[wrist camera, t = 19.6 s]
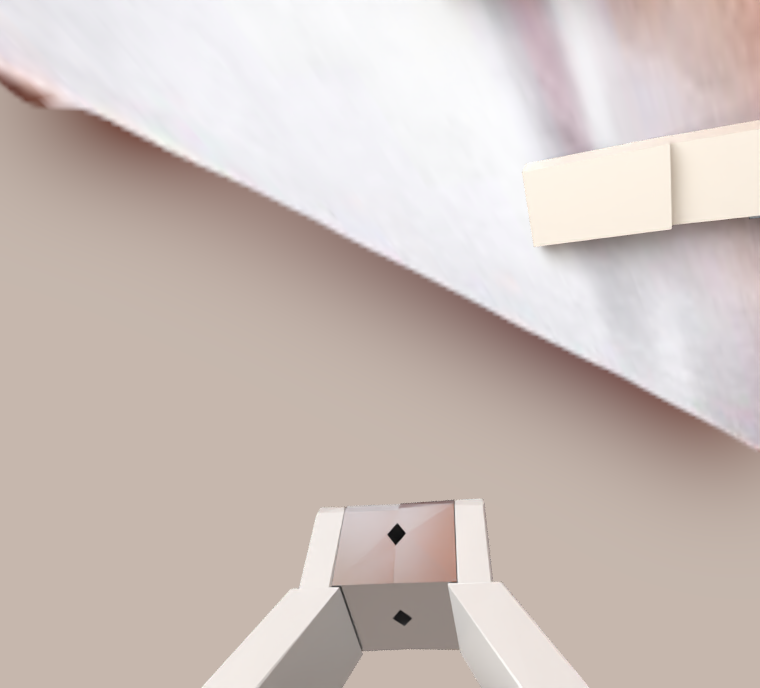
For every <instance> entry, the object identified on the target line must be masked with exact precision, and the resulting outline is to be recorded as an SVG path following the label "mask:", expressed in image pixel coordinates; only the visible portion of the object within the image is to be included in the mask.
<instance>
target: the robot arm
mask: <svg viewBox="0 0 760 688" xmlns="http://www.w3.org/2000/svg"><path fill="white" fill-rule="evenodd" d="M399 649H438V650H440V649H441V650H460V653H461V655H462V656H463V658H464V659H465V661H466V663H467V665H468V666H469V668H470V670H471V671H472V673H473V675H474V677H475V678H476V680H477V682H478V683H479V685H480V687H481V688H589V686H588V685H587V684H586V683H585V682H584V680H583V679H582V678H581V677H580V676H579V674H578V673H577V672H576V671H575V669H574V668H573V667H572V666H571V665H570V663H569V662H568V661H567V660H566V659H565V657H564V656H563V655H562V654H561V653H560V651H559V650H558V649H557V648H556V646H555V645H554V644H553V643H552V642H551V641H550V639H549V638H548V637H547V636H546V634H545V633H544V632H543V631H542V630H541V628H540V627H539V626H538V625H537V623H536V622H535V621H534V620H533V619H532V618H531V616H530V615H529V614H528V613H527V611H526V610H525V609H524V608H523V607H522V605H521V604H520V603H519V602H518V601H517V599H516V598H515V597H514V596H513V594H512V593H511V592H510V591H509V590H508V588H507V587H506V586H505V585H504V584H503V582H493V577H492V568H491V559H490V550H489V540H488V531H487V522H486V513H485V504H484V500H483V499H465V500H455V501H454V500H445V501H431V502H417V503H403V504H400V505H368V506H347V507H323V508H320V510H319V512H318V513H317V515H316V519H315V523H314V527H313V532H312V536H311V540H310V544H309V549H308V553H307V557H306V562H305V566H304V570H303V574H302V578H301V583H300V587H299V588H292V589H290V591H289V592H288V593H287V594H286V595H285V596H284V597H283V598H282V599H281V600H280V602H279V603H278V604H277V605H276V606H275V607H274V608H273V609H272V610H271V612H269V614H268V615H267V616H266V617H265V618H264V619H263V620H262V621H261V623H260V624H259V625H258V626H257V627H256V628H255V629H254V630H253V631H252V632H251V633H250V635H249V636H248V637H247V638H246V639H245V640H244V641H243V642H242V643H241V645H240V646H239V647H238V648H237V649H236V650H235V651H234V652H233V653H232V655H231V656H230V657H229V658H228V659H227V660H226V661H225V662H224V663H223V664H222V665H221V667H220V668H219V669H218V670H217V671H216V672H215V673H214V674H213V675H212V676H211V678H210V679H209V680H208V681H207V682H206V683H205V684H204V685H203V686H202V687H201V688H342V687H343V686H344V684H345V682H346V681H347V679H348V677H349V676H350V674H351V673H352V671H353V669H354V668H355V666H356V665H357V663H358V661H359V660H360V658H361V656H362V651H377V650H399Z"/></svg>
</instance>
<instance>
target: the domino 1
mask: <svg viewBox="0 0 760 688" xmlns="http://www.w3.org/2000/svg"><path fill="white" fill-rule="evenodd" d="M522 175H523V182H524V188H525V194H526V200H527V207H528V213H529V219H530V226H531V232H532V238H533V245H534V247H538V246H545V245H553V244H561V243H569V242H576V241H584V240H592V239H600V238H607V237H615V236H623V235H631V234H638V233H646V232H654V231H661V230H669V229H672V212H671V166H670V142H669V138H668V136H663V137H658V138H653V139H648V140H643V141H638V142H633V143H628V144H622V145H617V146H612V147H607V148H602V149H597V150H592V151H587V152H582V153H577V154H572V155H567V156H562V157H557V158H552V159H547V160H542V161H537V162H532V163H527V164H526V165H525V167H524V169H523V171H522Z"/></svg>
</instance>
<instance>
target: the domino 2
mask: <svg viewBox="0 0 760 688" xmlns="http://www.w3.org/2000/svg"><path fill="white" fill-rule="evenodd" d="M668 138H669V142H670V166H671V212H672V225H678V224H687V223H696V222H705V221H715V220H724V219H733V218H742V217H751V216H760V120H757V121H751V122H745V123H740V124H734V125H728V126H722V127H717V128H711V129H705V130H699V131H694V132H688V133H682V134H676V135H671V136H668ZM642 141H643V140H642ZM636 142H638V141H636ZM631 143H633V142H631Z"/></svg>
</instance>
